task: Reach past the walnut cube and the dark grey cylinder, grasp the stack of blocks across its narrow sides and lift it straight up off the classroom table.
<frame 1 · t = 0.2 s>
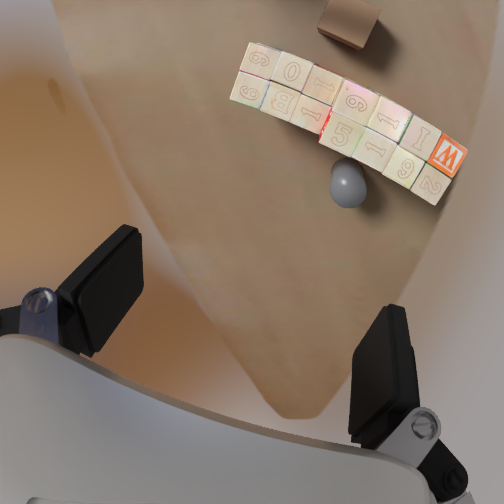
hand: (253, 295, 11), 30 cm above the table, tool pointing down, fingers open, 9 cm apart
walnut cube: (347, 24, 27), on the table
stack of blocks: (344, 103, 33), on the table
dark grey cylinder: (346, 173, 37), on the table
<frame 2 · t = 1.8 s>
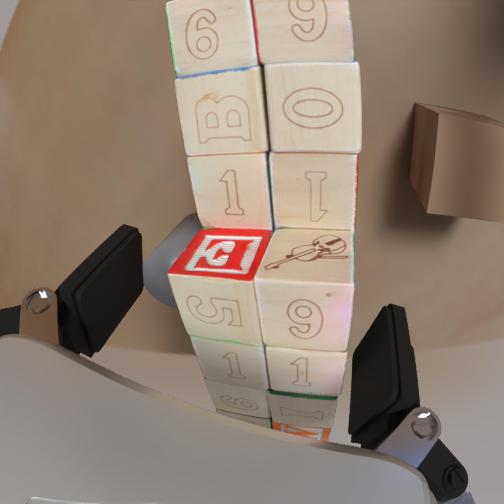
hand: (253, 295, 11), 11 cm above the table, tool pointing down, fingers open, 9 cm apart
walnut cube: (448, 146, 16), on the table
stack of blocks: (304, 183, 20), on the table
dark grey cylinder: (202, 236, 24), on the table
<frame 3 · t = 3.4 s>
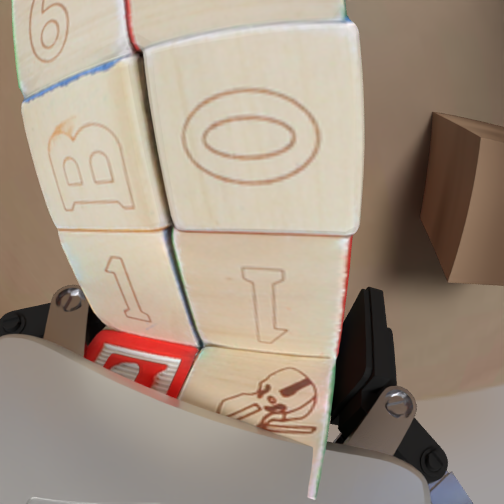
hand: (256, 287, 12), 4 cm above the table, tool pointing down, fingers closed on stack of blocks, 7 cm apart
walnut cube: (474, 173, 11), on the table
stack of blocks: (278, 218, 15), on the table, touching gripper
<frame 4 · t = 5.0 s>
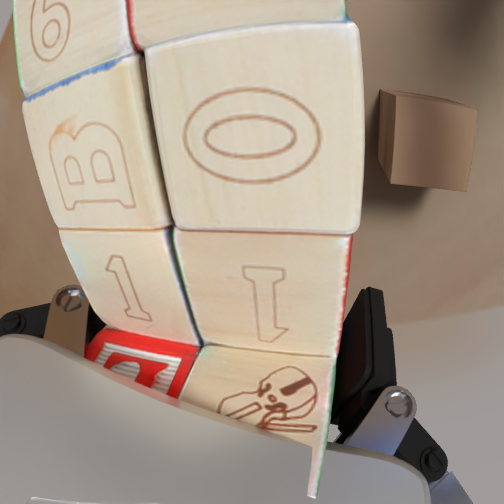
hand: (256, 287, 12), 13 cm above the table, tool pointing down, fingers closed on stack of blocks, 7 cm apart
walnut cube: (413, 128, 18), on the table
stack of blocks: (278, 218, 15), point 8 cm above the table, touching gripper
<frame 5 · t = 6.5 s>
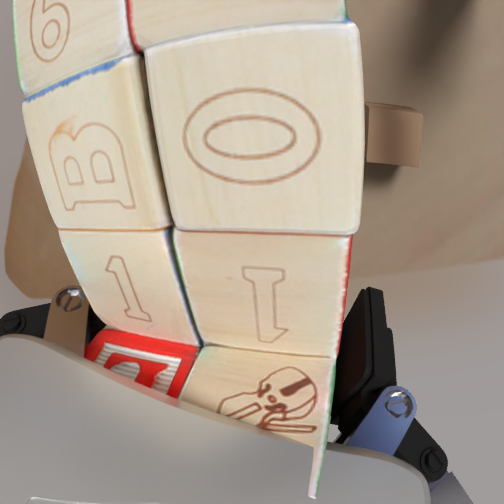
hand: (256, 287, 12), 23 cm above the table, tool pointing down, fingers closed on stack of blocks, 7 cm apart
walnut cube: (385, 127, 28), on the table
stack of blocks: (278, 218, 15), point 19 cm above the table, touching gripper
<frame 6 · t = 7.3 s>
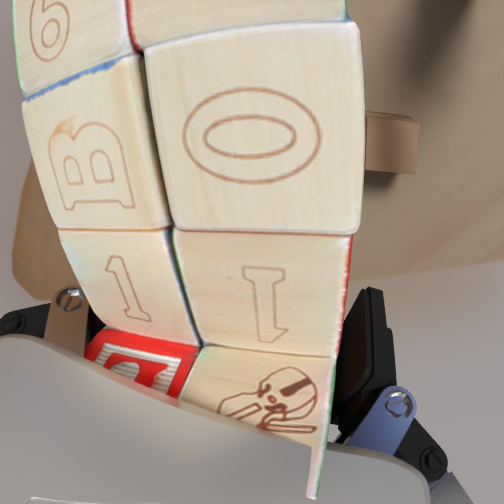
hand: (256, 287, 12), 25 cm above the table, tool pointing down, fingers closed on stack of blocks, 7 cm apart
walnut cube: (384, 135, 29), on the table
stack of blocks: (278, 218, 15), point 20 cm above the table, touching gripper
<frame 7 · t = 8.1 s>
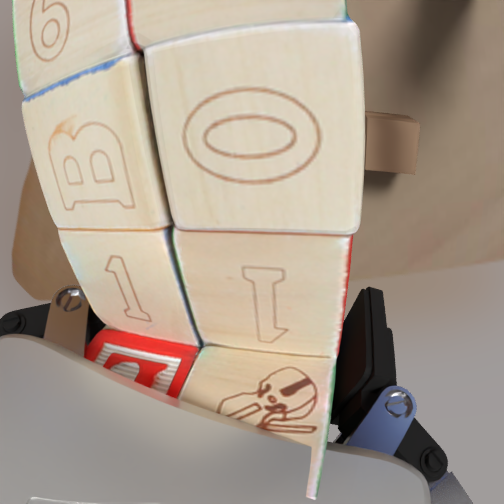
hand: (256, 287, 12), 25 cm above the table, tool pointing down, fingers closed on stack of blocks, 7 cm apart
walnut cube: (384, 135, 29), on the table
stack of blocks: (278, 218, 15), point 20 cm above the table, touching gripper
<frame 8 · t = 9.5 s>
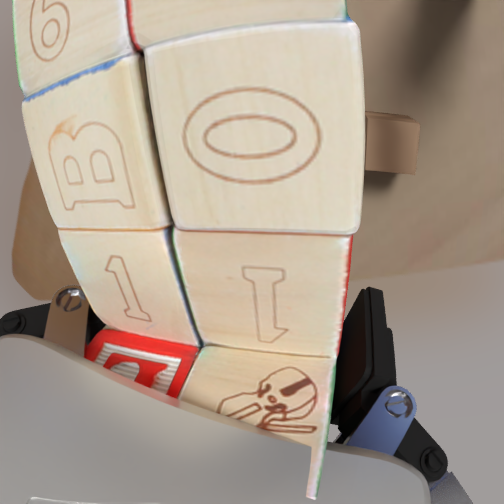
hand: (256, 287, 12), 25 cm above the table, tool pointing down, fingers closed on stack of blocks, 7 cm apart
walnut cube: (384, 135, 29), on the table
stack of blocks: (278, 218, 15), point 20 cm above the table, touching gripper
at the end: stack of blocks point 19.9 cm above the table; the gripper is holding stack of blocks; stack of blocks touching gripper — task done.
